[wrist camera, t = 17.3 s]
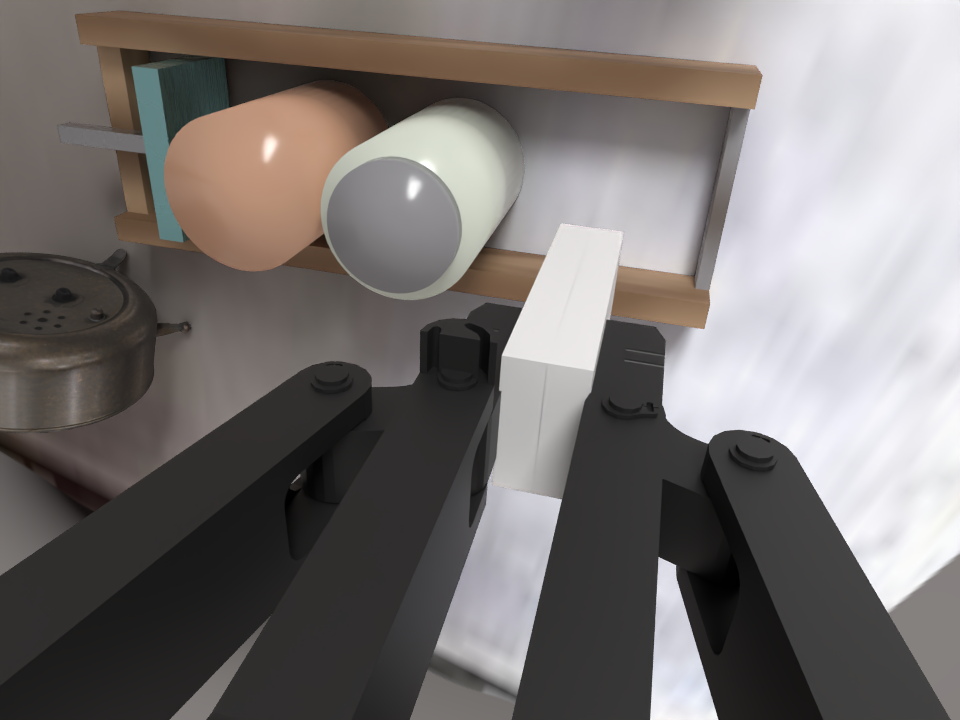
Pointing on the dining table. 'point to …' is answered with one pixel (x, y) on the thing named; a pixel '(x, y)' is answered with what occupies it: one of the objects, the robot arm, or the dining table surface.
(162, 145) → the pusher
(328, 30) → the lane
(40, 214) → the dining table surface
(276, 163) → the jar in lane
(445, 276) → the jar
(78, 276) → the alarm clock
